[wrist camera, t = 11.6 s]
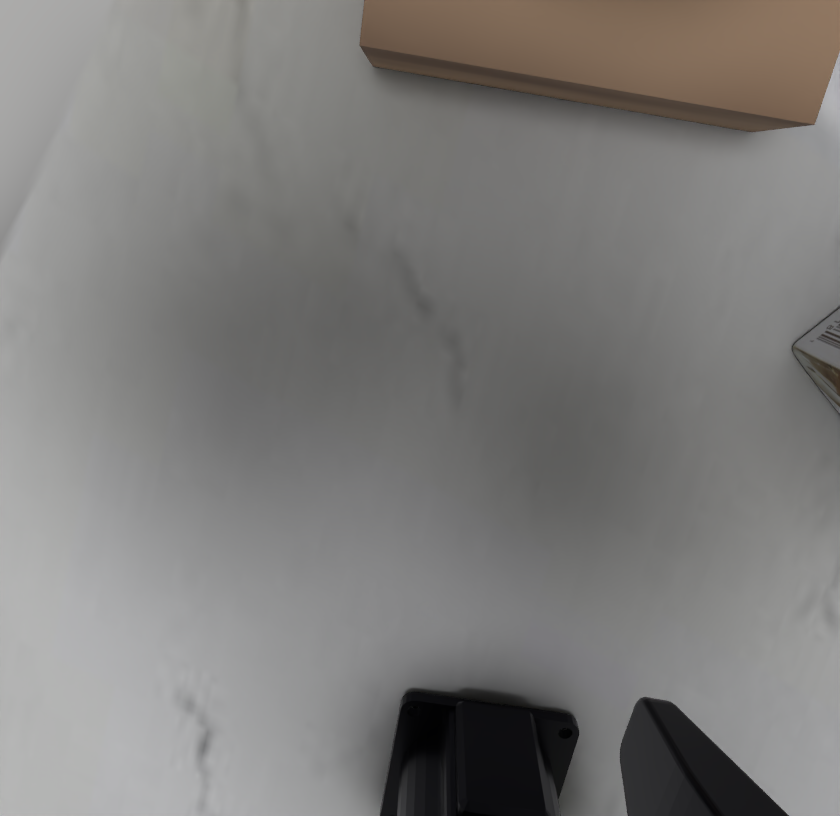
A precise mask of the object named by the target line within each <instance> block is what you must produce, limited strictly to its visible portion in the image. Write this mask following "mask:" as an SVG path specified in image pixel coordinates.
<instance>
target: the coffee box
mask: <svg viewBox="0 0 840 816" xmlns="http://www.w3.org/2000/svg"><path fill="white" fill-rule="evenodd" d="M793 352H794V354H795V356H796V357H797V359H798V360H799V362H800V363H801V364H802V366H803V367H804V368H805V370H806V371H807V372H808V374H809V375H810V376H811V378H812V379H813V380H814V382H815V383H816V384H817V386H818V387H819V388H820V390H821V391H822V392H823V393H824V395H825V396H826V397H827V398H828V400H829V401H830V402H831V404H832V405H833V406H834V407H835V409H836V410H837V411H838V412H839V414H840V308H839V309H838V310H837V311H835V312H834V313H833V314H832V315H830V316H829V317H828V318H826V319H825V320H824V321H823V322H821V323H820V324H819V325H818V326H816V327H815V328H814V329H812V330H811V331H810V332H809V333H807V334H806V335H805V336H803V337H802V338H801V339H800V340H798V341H797V342H796V343H795V344H794V346H793Z"/></svg>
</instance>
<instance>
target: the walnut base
mask: <svg viewBox="0 0 840 816" xmlns="http://www.w3.org/2000/svg"><path fill="white" fill-rule="evenodd" d="M360 47H361V48H362V50H363V52H364V53H365V55H366V56H367V58H368V59H369V61H370V62H371V64H372V66H374V67H380V68H385V69H391V70H397V71H403V72H409V73H414V74H420V75H426V76H432V77H437V78H443V79H449V80H455V81H460V82H466V83H472V84H478V85H483V86H489V87H495V88H501V89H507V90H512V91H518V92H524V93H530V94H535V95H541V96H547V97H553V98H558V99H564V100H570V101H576V102H582V103H587V104H593V105H599V106H605V107H610V108H616V109H622V110H628V111H633V112H639V113H645V114H651V115H656V116H662V117H668V118H674V119H680V120H685V121H691V122H697V123H703V124H708V125H714V126H720V127H726V128H731V129H737V130H743V131H749V132H757V131H765V130H774V129H782V128H791V127H799V126H807V125H815V122H816V119H817V116H818V113H819V110H820V107H821V104H822V101H823V98H824V95H825V92H826V89H827V86H828V84H829V81H830V78H831V75H832V72H833V69H834V66H835V63H836V60H837V57H838V54H839V51H840V0H365V1H364V10H363V18H362V27H361V36H360Z"/></svg>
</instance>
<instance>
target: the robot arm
mask: <svg viewBox="0 0 840 816" xmlns="http://www.w3.org/2000/svg"><path fill="white" fill-rule="evenodd" d="M411 706H417V707H418V708H412V707H411ZM562 728H567V729H565V730H561V729H562ZM578 737H579V728H578V724H577V721H576V719H575V718H574V717H573V716H571V715H568V714H563V713H556V712H550V711H543V710H536V709H529V708H522V707H515V706H508V705H502V704H495V703H488V702H481V701H474V700H467V699H461V698H454V697H447V696H440V695H433V694H426V693H419V692H411V693H408V694H406V695H405V696H403V698H402V700H401V704H400V710H399V715H398V720H397V725H396V731H395V736H394V741H393V746H392V752H391V757H390V762H389V767H388V773H387V778H386V783H385V788H384V794H383V799H382V804H381V810H380V816H561V814H560V808H559V803H558V799H559V796H560V793H561V790H562V786H563V783H564V780H565V777H566V774H567V771H568V768H569V765H570V762H571V758H572V755H573V752H574V749H575V746H576V743H577V740H578ZM620 764H621V771H622V778H623V785H624V792H625V799H626V806H627V813H628V816H789V815H788V814H787V813H786V812H785V811H784V810H782V809H781V808H780V807H779V806H778V805H777V804H776V803H775V802H774V801H773V800H772V799H771V798H770V797H769V796H768V795H767V794H766V793H765V792H764V791H763V790H762V789H761V788H760V787H759V786H758V785H757V784H756V783H755V782H754V781H753V780H752V779H751V778H750V777H749V776H748V775H747V774H746V773H744V772H743V771H742V770H741V769H740V768H739V767H738V766H737V765H736V764H735V763H734V762H733V761H732V760H731V759H730V758H729V757H728V756H727V755H726V754H725V753H724V752H723V751H722V750H721V749H720V748H719V747H718V746H717V745H716V744H715V743H714V742H713V741H712V740H711V739H710V738H709V737H708V736H706V735H705V734H704V733H703V732H702V731H701V730H700V729H699V728H698V727H697V726H696V725H695V724H694V723H693V722H692V721H691V720H690V719H689V718H688V717H687V716H686V715H685V714H684V713H683V712H682V711H681V710H680V709H679V708H678V707H677V706H676V705H674V704H673V703H672V702H669V701H666V700H660V699H654V698H648V697H643V698H640V699H639V700H638V701H637V703H636V705H635V707H634V709H633V712H632V715H631V718H630V720H629V723H628V726H627V729H626V731H625V734H624V737H623V739H622V743H621V748H620Z"/></svg>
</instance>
